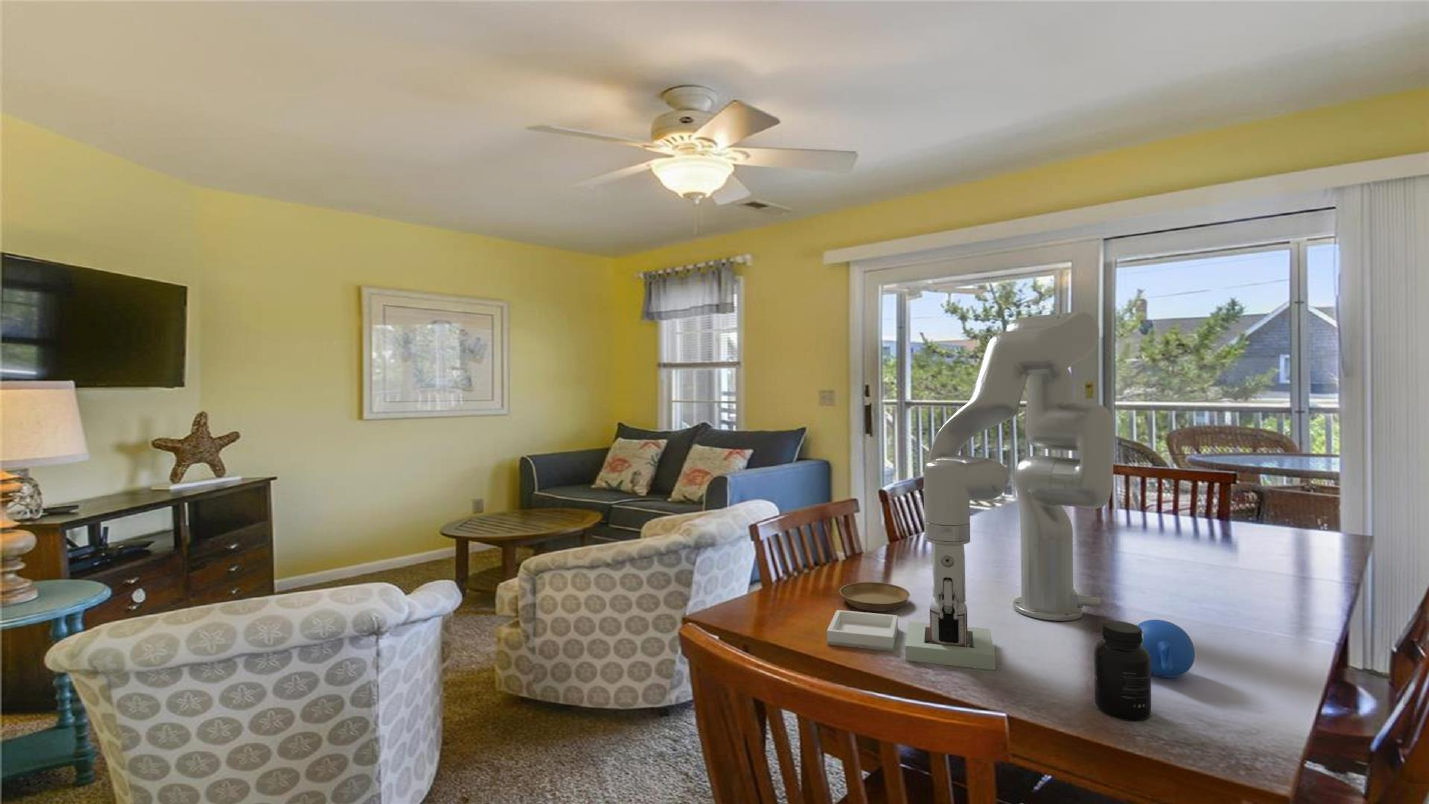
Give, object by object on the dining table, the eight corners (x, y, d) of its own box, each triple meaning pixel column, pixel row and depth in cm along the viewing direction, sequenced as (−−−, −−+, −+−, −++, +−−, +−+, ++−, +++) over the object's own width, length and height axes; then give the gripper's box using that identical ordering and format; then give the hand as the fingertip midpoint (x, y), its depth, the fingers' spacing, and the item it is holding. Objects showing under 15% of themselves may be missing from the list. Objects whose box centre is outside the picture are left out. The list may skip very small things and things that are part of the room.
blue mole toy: (1099, 653, 112) (1099, 604, 112) (1183, 663, 107) (1182, 612, 107) (1112, 682, 101) (1111, 628, 101) (1205, 695, 96) (1205, 638, 96)
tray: (897, 628, 126) (897, 615, 125) (893, 651, 115) (893, 637, 115) (837, 622, 129) (836, 609, 129) (827, 644, 118) (826, 630, 118)
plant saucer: (920, 614, 134) (920, 601, 134) (850, 617, 133) (850, 604, 133) (896, 592, 149) (895, 580, 149) (832, 594, 148) (832, 583, 148)
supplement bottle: (1083, 700, 96) (1082, 618, 95) (1127, 697, 96) (1127, 616, 96) (1116, 724, 89) (1115, 636, 88) (1163, 721, 89) (1163, 633, 89)
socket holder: (990, 642, 118) (989, 629, 117) (994, 670, 106) (994, 655, 106) (909, 634, 122) (908, 621, 122) (905, 660, 111) (905, 645, 111)
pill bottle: (942, 641, 118) (941, 579, 118) (974, 651, 114) (973, 587, 114) (923, 650, 115) (922, 586, 114) (955, 661, 110) (954, 594, 110)
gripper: (972, 544, 104) (973, 656, 105) (968, 523, 121) (969, 619, 121) (922, 541, 107) (924, 650, 107) (925, 521, 123) (927, 616, 124)
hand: (948, 633), depth 114 cm, fingers closed on pill bottle, 6 cm apart
